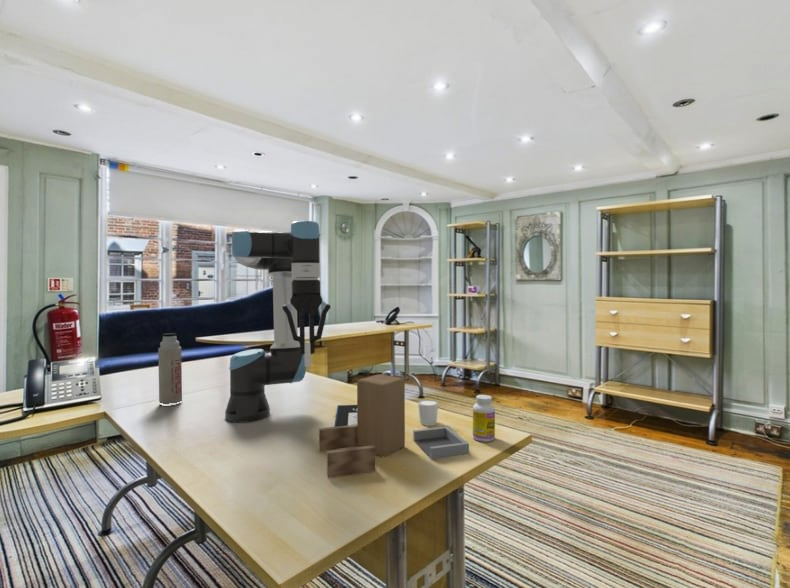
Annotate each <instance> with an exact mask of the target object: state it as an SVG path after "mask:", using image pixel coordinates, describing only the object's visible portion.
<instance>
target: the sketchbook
mask: <svg viewBox="0 0 790 588" xmlns="http://www.w3.org/2000/svg"><path fill="white" fill-rule="evenodd" d="M335 414H336V415H335V419H334V425H333V427H338V426H347V425H356V424H357V404H338V405H337V408H336V413H335Z"/></svg>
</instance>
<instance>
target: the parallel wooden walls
mask: <svg viewBox="0 0 790 588" xmlns="http://www.w3.org/2000/svg"><path fill="white" fill-rule="evenodd" d="M318 450H319V452H323V451H325V450H326V451H325V452H326V476H327V478H334V477H342V476H349V475H356V474H362V473H370V472H376V454H375V446H374V445H371V446H363V447H358V441H357V424H356V425H347V426H338V427H334V426H331V427H329V426H328V427H320V428H318Z"/></svg>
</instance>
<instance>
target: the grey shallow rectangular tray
mask: <svg viewBox="0 0 790 588" xmlns="http://www.w3.org/2000/svg"><path fill="white" fill-rule="evenodd" d="M412 432H413V434H412V436H413V437H412V438H413V439H412V440H413V442H414V443H415V444H416V445H417V446H418V447H419V448H420V449H421V450H422V452H424V454H426V456H427V457H428V458H429V459H430V460H438V459H444V458H445V459H446V458H447V459H448V458H452V457H460V456H461V457H462V456H468V455H469V454H470V443H469V442H468V441H466V440H465V439H464V438H462V437H461V436H460V435H459V434H458V433H456V432H455V431H454V430H453V429H451V428H450V427H449V426H439V427H431V428H422V429H414V430H412Z"/></svg>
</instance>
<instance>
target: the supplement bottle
mask: <svg viewBox="0 0 790 588" xmlns="http://www.w3.org/2000/svg"><path fill="white" fill-rule="evenodd" d="M475 401H476V403H475V404H474V405H472V438H473V439H474V440H475V441H477V442H483V443H489V442H492V441H494V440H495V438H496V437H495V436H496V428H495V427H496V408H495V406H494V405H493V404H492V403H493V402H492V401H493V397H492V396H491V395H488V394H478V395H476V397H475Z"/></svg>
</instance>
